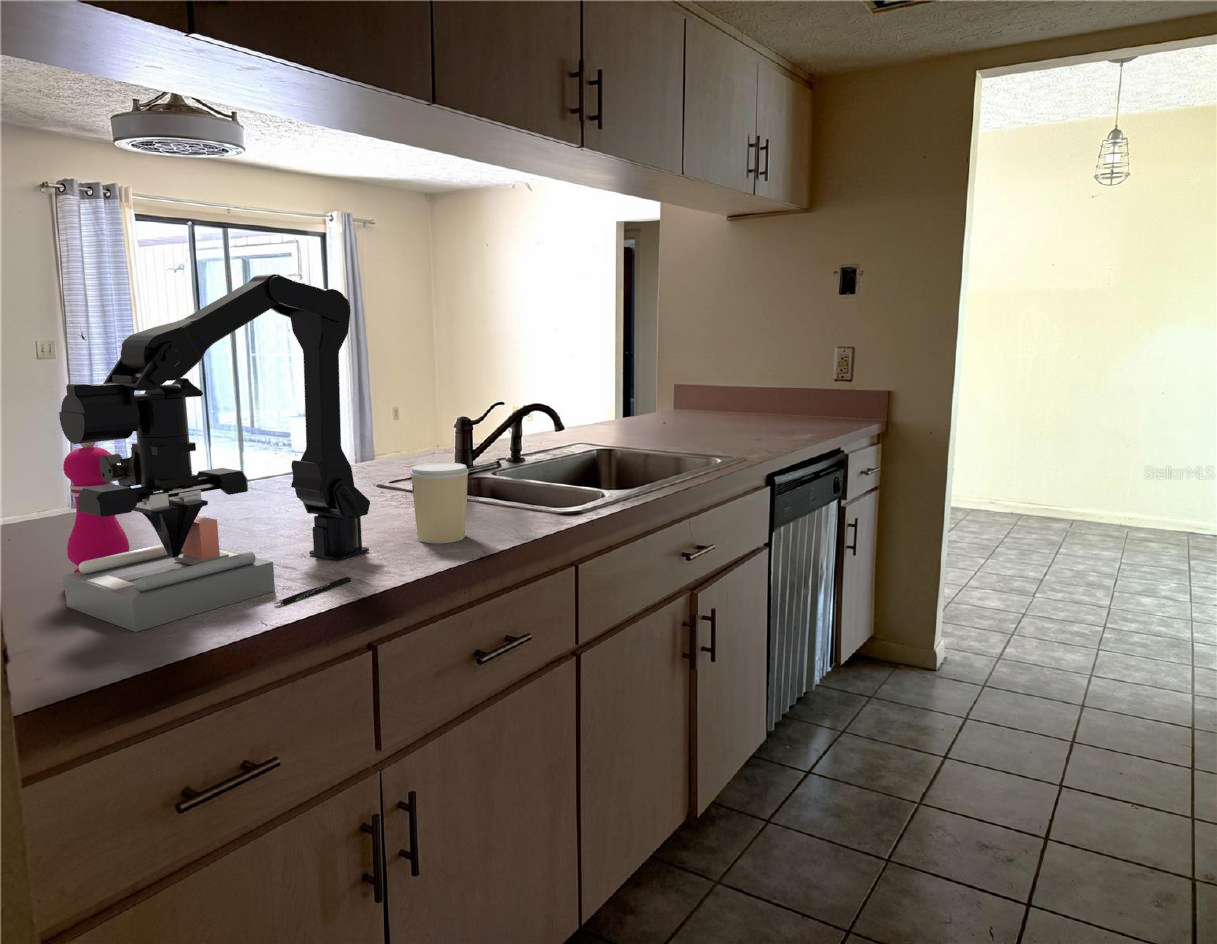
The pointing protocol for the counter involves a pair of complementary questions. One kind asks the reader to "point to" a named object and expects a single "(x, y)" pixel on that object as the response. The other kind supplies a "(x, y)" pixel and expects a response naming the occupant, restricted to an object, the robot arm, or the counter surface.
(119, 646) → the counter surface
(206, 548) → the lever
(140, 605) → the box
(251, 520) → the counter surface
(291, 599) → the black thin rod
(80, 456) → the pepper mill
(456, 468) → the coffee cup
